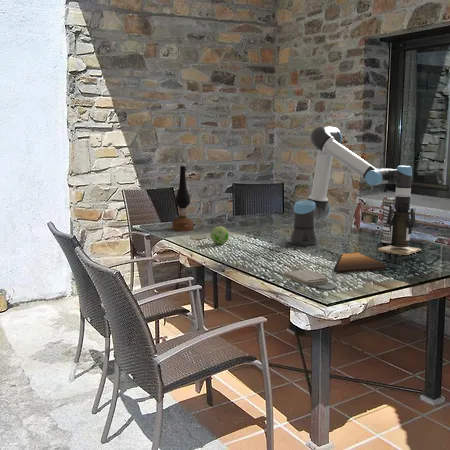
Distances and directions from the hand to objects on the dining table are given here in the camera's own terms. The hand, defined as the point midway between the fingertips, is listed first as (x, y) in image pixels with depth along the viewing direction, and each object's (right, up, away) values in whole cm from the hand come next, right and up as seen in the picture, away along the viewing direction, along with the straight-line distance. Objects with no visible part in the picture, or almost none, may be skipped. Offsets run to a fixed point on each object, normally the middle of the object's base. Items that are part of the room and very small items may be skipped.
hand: (400, 238), depth 299 cm
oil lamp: (-118, +4, +58) cm, 132 cm away
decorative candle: (+2, -2, +26) cm, 26 cm away
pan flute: (-34, -12, -29) cm, 46 cm away
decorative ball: (-95, -4, +15) cm, 96 cm away
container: (0, -4, +1) cm, 4 cm away
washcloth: (-57, -17, -55) cm, 81 cm away
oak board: (0, -7, +1) cm, 7 cm away
